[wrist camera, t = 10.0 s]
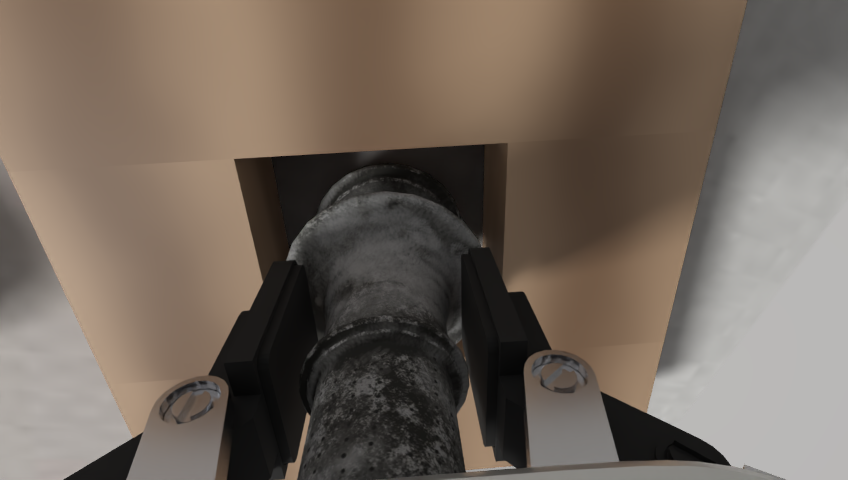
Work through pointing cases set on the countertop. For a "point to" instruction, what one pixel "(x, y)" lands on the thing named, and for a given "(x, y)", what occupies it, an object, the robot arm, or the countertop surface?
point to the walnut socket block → (353, 132)
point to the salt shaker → (384, 328)
